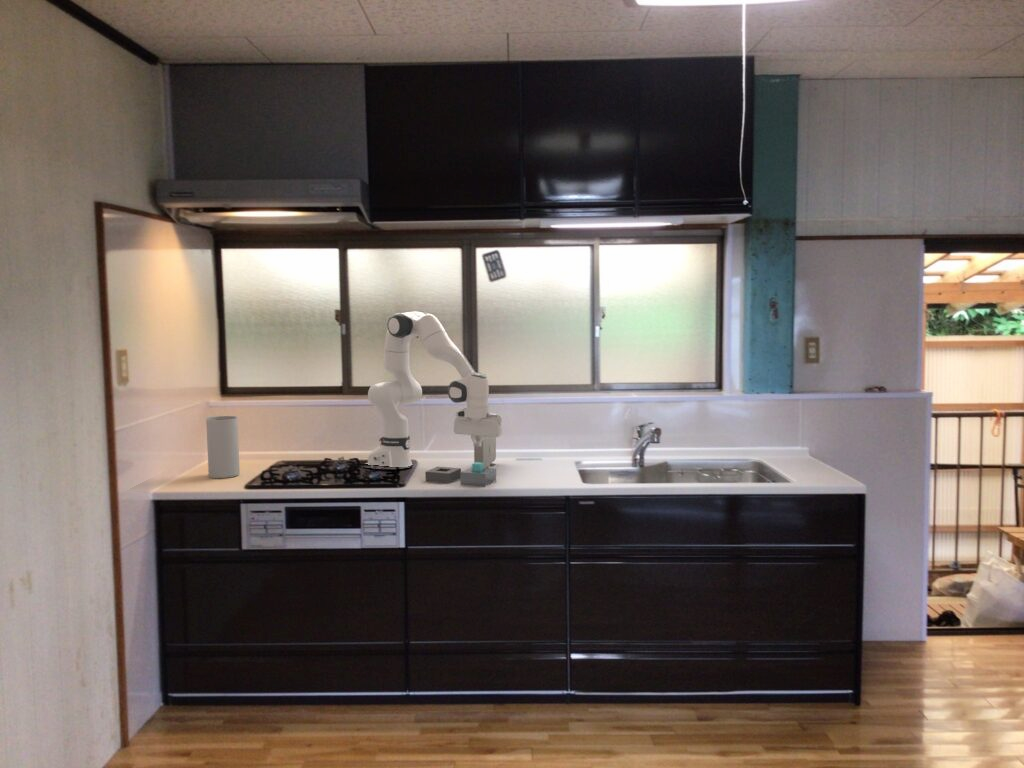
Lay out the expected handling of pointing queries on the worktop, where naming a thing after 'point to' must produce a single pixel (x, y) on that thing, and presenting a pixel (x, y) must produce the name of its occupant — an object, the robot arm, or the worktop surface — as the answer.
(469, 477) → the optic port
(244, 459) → the worktop surface
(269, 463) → the worktop surface
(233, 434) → the cylinder vase
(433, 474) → the holster
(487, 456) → the network device
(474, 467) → the plug
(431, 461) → the worktop surface
